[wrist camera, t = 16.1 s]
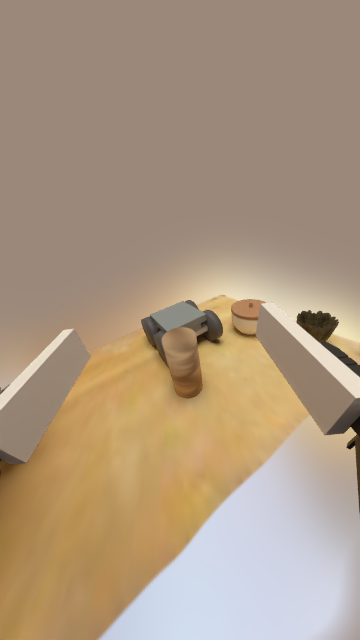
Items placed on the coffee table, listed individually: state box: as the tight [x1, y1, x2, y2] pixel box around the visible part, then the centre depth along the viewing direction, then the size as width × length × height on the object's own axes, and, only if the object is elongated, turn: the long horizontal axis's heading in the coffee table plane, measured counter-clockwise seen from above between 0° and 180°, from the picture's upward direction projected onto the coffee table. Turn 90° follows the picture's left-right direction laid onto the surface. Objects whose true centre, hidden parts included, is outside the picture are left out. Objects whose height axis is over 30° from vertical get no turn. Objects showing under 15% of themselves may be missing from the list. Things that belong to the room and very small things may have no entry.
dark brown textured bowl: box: [297, 310, 339, 342], centre depth 39 cm, size 8×7×8 cm
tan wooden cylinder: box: [162, 327, 202, 398], centre depth 32 cm, size 6×6×14 cm
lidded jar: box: [231, 299, 266, 335], centre depth 47 cm, size 11×11×9 cm
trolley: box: [141, 300, 223, 365], centre depth 48 cm, size 17×19×10 cm
